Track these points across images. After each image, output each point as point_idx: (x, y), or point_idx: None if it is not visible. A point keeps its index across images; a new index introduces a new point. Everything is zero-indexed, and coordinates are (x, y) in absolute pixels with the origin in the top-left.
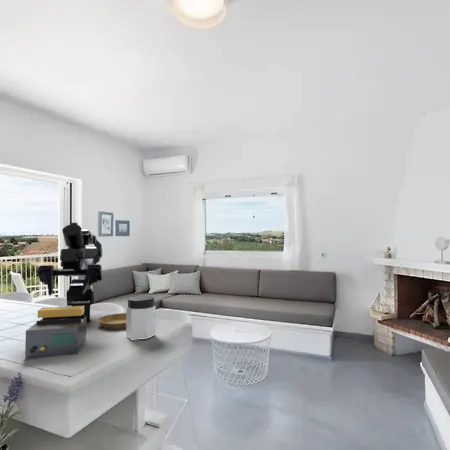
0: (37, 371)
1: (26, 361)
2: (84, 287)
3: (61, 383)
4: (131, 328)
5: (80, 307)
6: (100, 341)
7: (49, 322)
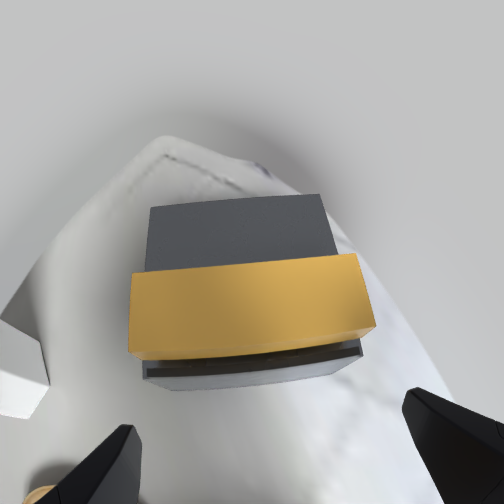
0: (234, 175)
1: None
2: (95, 451)
3: (176, 138)
4: (17, 329)
5: (141, 300)
6: (120, 364)
7: None
